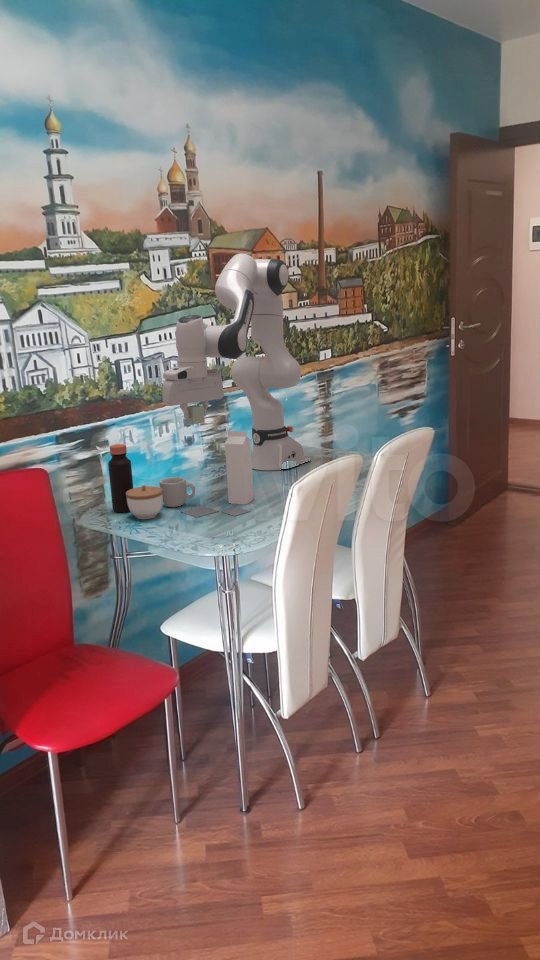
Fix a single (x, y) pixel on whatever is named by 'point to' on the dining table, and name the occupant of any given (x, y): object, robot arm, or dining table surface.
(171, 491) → the cup
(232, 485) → the milk
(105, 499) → the dining table surface
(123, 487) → the vinegar
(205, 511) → the thin grey square tile
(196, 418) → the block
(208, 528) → the dining table surface
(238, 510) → the grey square coaster
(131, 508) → the lidded jar
